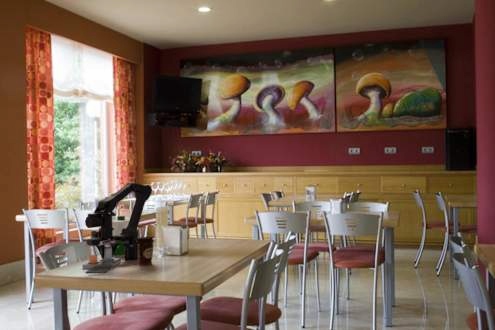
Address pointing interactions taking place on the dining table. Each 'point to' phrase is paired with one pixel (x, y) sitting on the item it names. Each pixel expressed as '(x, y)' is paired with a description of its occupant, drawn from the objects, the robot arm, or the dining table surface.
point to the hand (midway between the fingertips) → (107, 257)
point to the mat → (98, 270)
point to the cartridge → (107, 253)
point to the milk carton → (119, 232)
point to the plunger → (92, 259)
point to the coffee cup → (145, 250)
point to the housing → (102, 263)
